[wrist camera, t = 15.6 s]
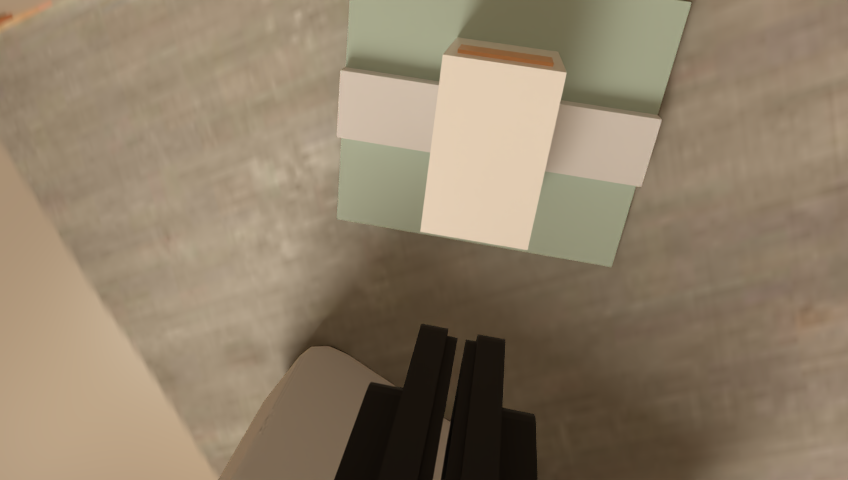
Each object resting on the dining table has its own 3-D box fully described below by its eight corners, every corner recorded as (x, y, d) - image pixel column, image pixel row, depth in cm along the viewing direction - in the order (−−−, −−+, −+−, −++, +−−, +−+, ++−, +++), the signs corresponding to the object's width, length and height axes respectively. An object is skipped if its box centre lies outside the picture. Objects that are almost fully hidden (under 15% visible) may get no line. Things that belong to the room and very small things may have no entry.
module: (558, 48, 28) (567, 68, 23) (526, 201, 32) (527, 250, 27) (457, 33, 29) (443, 50, 24) (436, 187, 33) (420, 231, 27)
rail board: (687, 1, 28) (697, 3, 26) (609, 260, 34) (614, 275, 32) (356, -45, 29) (346, -45, 27) (340, 213, 35) (331, 225, 33)
